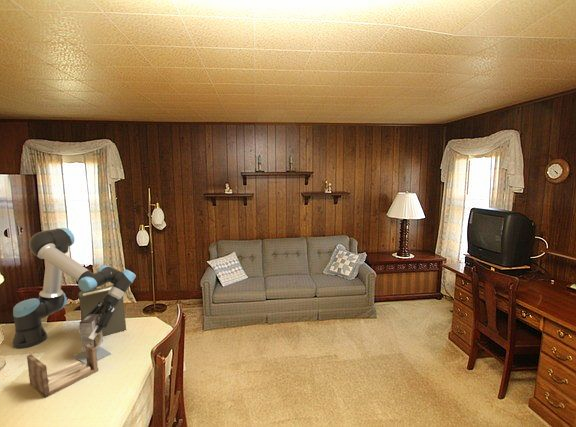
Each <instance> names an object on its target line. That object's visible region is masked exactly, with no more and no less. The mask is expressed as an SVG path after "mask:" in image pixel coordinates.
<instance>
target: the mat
mask: <svg viewBox="0 0 576 427" xmlns="http://www.w3.org/2000/svg"><path fill="white" fill-rule="evenodd" d="M96 352H97V362H98V361H100V360H103V359H104V358H106V357H108V356H110V355H112V352H110V351H108V350H107V349H105V348H103V347H101V346H99V347H98V348H97V349H96ZM73 358H75V359H76V360H78V362H82V363H84V364H86V365H87V358H86V351H81V352H80V353H77V354H74V355H73Z"/></svg>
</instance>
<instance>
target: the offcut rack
mask: <svg viewBox="0 0 576 427" xmlns="http://www.w3.org/2000/svg"><path fill="white" fill-rule="evenodd" d="M85 347H86V358H87V365H86V364H84V363H82V362H80V361H76V362H74V363H72V364H69V365H67V366H64V367H62V368H60V369H57V370H54V371H52V372H50V373H48V370H47V369H48V367H47V365H46V364H45V363H43V362H42V361H40V360H39V359H38V358H36V356H34V355H33V354H29V355H27V356H26V359H27V368H28V377H29V384H30V386H31V387H32V388H33V389H35V390H36V391H37V392H38V393H39V394H40V395H41V396H43V398H44V399H46V398H48V397H50V396H52V395H54V394H56V393H58V392H60V391H62V390H64V389H66V388H68V387H70V386H72V385H74V384H76V383H77V382H80V381H81V380H83V379H86V378H88V377H90V376H91V375H93V374H96V373H98V372H99V367H98V366H99V365H98V361H97V352H96V348H95V347H93V346H91V345H90V344H88V345H85Z"/></svg>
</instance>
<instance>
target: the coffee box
mask: <svg viewBox="0 0 576 427" xmlns="http://www.w3.org/2000/svg"><path fill="white" fill-rule="evenodd" d="M100 319H101V315H100V314H88V315H87V316H86V317H85V318H84V319H83V320H82V319H81V320H80V321H79V322H78V323H79V330H80V333H79V334H80V340H81V352H84V351H86V347H85V345H88V344H90V345H91V346H93V347H95V348H96V349H97V348H98V347H100V346H101V344H102V343H103V342H104V338H103V337H104V336H103V335H102V329H101V330H100V332H99V333H98V334H97V335H96V337H95V338H94V340H92V339H90V338H88V337H89V336H90V335H91V333H92V332H93V330H94V329H95V327H96V326H98V324H99V322H100Z"/></svg>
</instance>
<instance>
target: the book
mask: <svg viewBox="0 0 576 427" xmlns="http://www.w3.org/2000/svg"><path fill="white" fill-rule="evenodd" d="M113 285H114V284H113V283H112V284H110V285H106V286H103V287H97V288H95V289H93V290H90V291H86V292H85V291H82V290H81V291H79V293H78V300H79V308H80V309H79V310H80V317H81V320H83V319H84V318H85V317H86V316H87V315H88V314H89V313H90V312H91V311H92V310H93V309H94V308H95V306H96V305H97V304H98V303H99V302H100V303H103V302H104V300H103V299H104V297H105V296H106V294H108V292H109V290H110V289H111V288H112V286H113ZM113 308H114V309H115V311H114V313H113V314H112V316H111V318H110V320H109V322H108V325H107V327H103V328H102V335H103V337H105V336H108V335H112V334H116V333H120V331H121V332H124V331H123V330H126V331H127V323H126V314H125V313H126V312H125V304H124V295H123V296H122V298H121V299H119V302H118V304H117V305H116V306H113ZM100 315H101V316H102V313H101V314H100Z"/></svg>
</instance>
